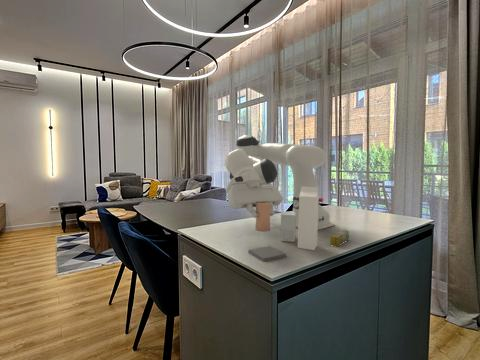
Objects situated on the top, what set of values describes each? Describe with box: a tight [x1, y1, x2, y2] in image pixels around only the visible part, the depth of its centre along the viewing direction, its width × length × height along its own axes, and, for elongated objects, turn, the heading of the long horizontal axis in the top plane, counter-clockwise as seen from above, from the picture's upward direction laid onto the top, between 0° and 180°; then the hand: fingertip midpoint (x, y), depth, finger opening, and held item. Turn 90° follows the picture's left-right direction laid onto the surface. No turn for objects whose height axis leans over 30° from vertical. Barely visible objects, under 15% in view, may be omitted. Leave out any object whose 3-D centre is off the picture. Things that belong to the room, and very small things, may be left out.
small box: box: [280, 210, 296, 243], centre depth 105 cm, size 8×6×10 cm
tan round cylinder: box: [255, 202, 271, 233], centre depth 87 cm, size 5×5×9 cm
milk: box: [297, 187, 320, 251], centre depth 95 cm, size 6×6×22 cm
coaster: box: [247, 245, 287, 262], centre depth 87 cm, size 9×9×1 cm
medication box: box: [330, 229, 350, 247], centre depth 101 cm, size 12×3×4 cm, turn 138°
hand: (264, 215), depth 87 cm, fingers closed on tan round cylinder, 5 cm apart
